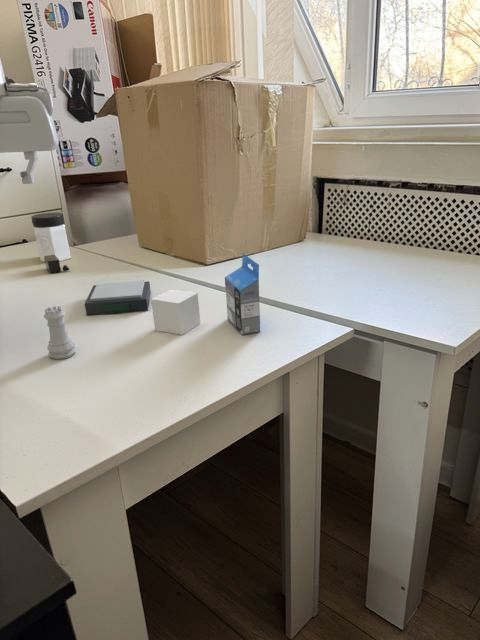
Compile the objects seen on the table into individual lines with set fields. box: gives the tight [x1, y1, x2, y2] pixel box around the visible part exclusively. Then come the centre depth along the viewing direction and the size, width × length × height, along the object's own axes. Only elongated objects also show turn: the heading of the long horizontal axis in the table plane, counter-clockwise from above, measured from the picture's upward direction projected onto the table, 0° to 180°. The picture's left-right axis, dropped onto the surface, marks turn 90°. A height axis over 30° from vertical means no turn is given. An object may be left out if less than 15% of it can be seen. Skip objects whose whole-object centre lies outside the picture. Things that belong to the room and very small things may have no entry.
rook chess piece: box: [43, 305, 77, 360], centre depth 83 cm, size 4×4×8 cm
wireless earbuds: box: [44, 255, 70, 274], centre depth 131 cm, size 5×7×3 cm, turn 31°
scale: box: [84, 280, 152, 316], centre depth 106 cm, size 12×12×3 cm
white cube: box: [150, 288, 201, 336], centre depth 93 cm, size 6×6×6 cm
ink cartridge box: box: [224, 252, 261, 336], centre depth 91 cm, size 9×4×12 cm, turn 21°
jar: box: [31, 212, 72, 263], centre depth 140 cm, size 9×8×12 cm
